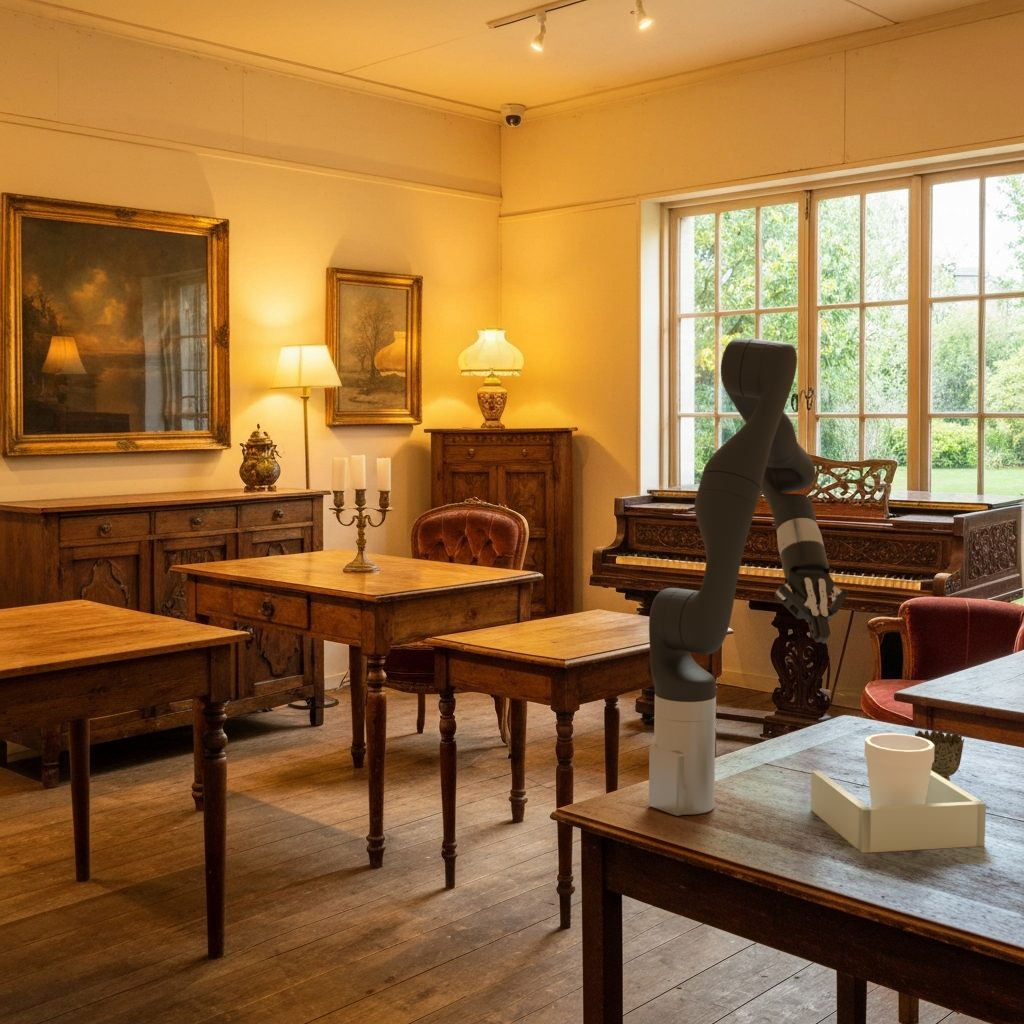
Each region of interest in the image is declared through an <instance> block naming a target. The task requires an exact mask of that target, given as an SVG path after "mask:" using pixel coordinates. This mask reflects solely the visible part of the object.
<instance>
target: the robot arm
mask: <svg viewBox="0 0 1024 1024" xmlns="http://www.w3.org/2000/svg"><path fill="white" fill-rule="evenodd" d="M797 365H798V356H797V350H796V349H795V347H794V346H793V345H792V344H791V343H788V342H784V341H777V340H768V339H758V338H749V337H748V338H747V337H746V338H745V337H744V338H742V337H741V338H740V337H739V338H734V339H732V340H730V341H729V343H728V344H727V345H726V347H725V349H724V351H723V354H722V357H721V362H720V376H721V382H722V385H723V388H724V390H725V392H726V394H727V395H728V398H729V399H730V401H731V402H732V403H733V405H734V406H735V408H736V410H737V412H738V413H739V414H740V416H741V417H742V419H743V420H744V422H745V424H744V425H743V426H742V427H741V428H740V429H739V430H738V431H736V433H734V435H732V436H731V437H730V438H729V439H728V440H727V441H725V443H724V444H723V445H722V446H720V447H719V448H718V449H716V451H715V452H714V454H712V455H711V457H710V458H709V459H708V461H707V462H706V463H705V466H704V468H703V471H702V475H701V478H700V482H699V485H698V489H697V491H696V496H695V499H694V500H695V501H694V512H695V518H696V522H697V526H698V530H699V532H700V535H701V538H702V542H703V546H704V549H705V559H706V560H705V568H704V569H705V570H704V575H703V580H702V583H701V586H700V588H699V590H694V589H686V588H678V587H667V588H664V589H661V590H660V591H659V592H658V593H657V594H656V595H655V598H654V599H653V601H652V604H651V607H650V610H649V612H650V613H649V619H648V636H649V639H648V640H649V657H650V658H649V660H650V662H649V663H650V675H651V678H652V682H653V685H654V723H653V725H654V727H653V729H654V731H653V732H654V734H653V736H654V737H653V738H654V739H653V743H651V744H650V745H649V750H648V751H649V752H648V753H649V754H648V758H649V759H648V765H649V766H648V769H649V770H648V806H649V807H651V808H654V809H657V810H660V811H662V812H666V813H667V814H670V815H673V816H677V817H678V816H682V815H683V816H685V815H701V814H706V813H708V812H711V811H712V810H714V808H715V796H716V795H715V790H716V789H715V785H716V784H715V783H716V781H715V780H716V721H717V720H716V719H717V715H716V713H717V708H716V707H717V682H716V681H717V680H716V679H715V676H714V675H713V674H712V673H710V672H708V671H707V670H706V669H704V668H703V667H701V665H699V664H698V663H697V662H696V661H695V659H694V658H693V656H692V655H691V653H695V654H700V655H710V654H711V655H712V654H714V653H715V652H717V651H718V650H719V649H720V648H721V646H722V645H723V643H724V641H725V639H726V637H727V633H728V632H729V631H728V630H729V627H730V622H731V618H732V615H733V614H732V612H733V608H734V601H735V596H736V591H737V584H738V579H739V573H740V568H741V564H742V559H743V554H744V552H745V548H746V543H747V539H748V535H749V533H750V529H751V524H752V522H753V519H754V517H755V516H754V515H755V512H756V509H757V505H758V502H759V498H760V494H762V496H763V497H764V498H765V500H766V502H767V504H768V506H769V508H770V511H771V514H772V517H773V521H774V526H775V530H776V536H777V540H776V541H777V547H778V552H779V556H780V561H781V566H782V571H783V574H784V578H785V580H784V584H781V585H780V586H779V587H778V588H777V590H776V591H775V593H774V597H775V598H776V599H777V600H778V602H779V603H781V604H782V605H783V606H784V607H785V608H786V609H787V610H788V611H789V612H790V613H791V614H792V615H793V616H794V617H795V618H796V619H798V620H801V619H803V620H805V621H806V622H807V624H808V628H809V632H810V637H811V638H812V639H814V642H815V643H825V642H826V641H827V640H828V638H829V637H830V636H831V628H830V625H829V622H830V621H831V620H832V619H833V618H834V616H836V614H837V613H838V612H839V610H840V609H841V607H842V605H843V604H844V602H845V601H846V599H847V598H848V596H849V593H850V592H849V590H848V589H845V588H842V590H841V589H840V588H839V587H837V586H836V585H835V581H834V580H833V579H832V577H831V575H830V566H829V561H828V558H827V554H826V550H825V545H824V541H823V536H822V533H821V531H820V528H819V525H818V521H817V518H816V512H815V509H814V505H813V502H812V500H811V499H810V497H808V496H807V495H805V494H802V493H792V492H798V491H803V490H805V489H808V488H809V487H810V486H812V484H813V483H814V481H815V480H816V467H815V465H814V463H813V462H814V461H813V460H812V458H811V457H810V455H809V454H808V452H807V451H806V450H805V449H804V448H803V447H802V446H801V445H800V444H799V442H798V440H797V439H798V438H797V436H796V435H797V434H796V431H795V428H794V425H793V422H792V421H791V419H790V417H789V416H788V414H787V413H786V412H785V411H784V410H785V408H786V404H787V403H788V399H789V397H790V393H791V390H792V387H793V384H794V381H795V377H796V372H797ZM830 594H831V601H832V603H831V605H830V607H829V608H828V599H829V596H830Z"/></svg>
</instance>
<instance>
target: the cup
mask: <svg viewBox="0 0 1024 1024" xmlns="http://www.w3.org/2000/svg"><path fill="white" fill-rule="evenodd" d="M914 736H917V737H921V738H924V739H927V740H929V741H931V742H932V743H933V744H934V745H935V748H934V762H933V763H932V768H931V770H932V771H933V772H935V773H937V774H938V775H940V776H941V777H943V778H945V779H946V780H948V781H950V782H951V776H953V775H955V773H957V772H958V770H959V767H960V765H961V760H962V755H963V748H964V743H965V742H964V741H965V738H963V737H962V735H959V733H958V732H955V733H952V734H951V732H950V731H949V730H948V731H947V732H946V733H944V732H943V731H942V730H938V731H936V730H935V729H933V730H931V731H930V733H929V730H928V729H926V730H925V731H924V733H923V731H922V730H918V731H917V732H914Z"/></svg>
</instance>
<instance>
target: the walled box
mask: <svg viewBox="0 0 1024 1024" xmlns="http://www.w3.org/2000/svg"><path fill="white" fill-rule="evenodd" d="M810 781H811V783H810V784H811V785H810V786H811V789H810V790H811V791H810V810H811V811H812V812H813V814H815V815H816V816H818V817H819V818H820V819H821V820H822V821H823V822H824V823H826V824H827V825H828V826H829V827H831V828H832V829H833V830H834V831H835V832H836V833H838V834H839V835H840V836H841V837H842V838H843V839H844V840H846V841H847V842H848V843H849V844H850V845H852V846H853V847H854V848H855V849H857V851H859V852H860V853H861V854H865V853H882V852H883V853H884V852H897V851H899V852H901V851H916V850H917V851H918V850H935V849H953V848H972V847H974V848H975V847H984V846H985V845H986V843H985V840H986V811H987V810H986V809H987V803H986V802H983V801H982V800H980V799H979V798H977V797H975V796H974V795H972V794H971V793H970V792H967V791H966V790H964V789H963V788H961V787H960V786H958V785H956V784H954V783H953V782H951V780H950V781H948V780H946V779H945V778H943V777H941V776H940V775H938V774H937V773H935V772H933V771H932V770H931V773H930V779H929V785H928V791H927V797H926V803H925V804H914V805H894V806H874V807H871V806H867V805H866V804H864V803H863V802H862V801H861V800H859V799H858V798H856V797H855V796H854V795H852V794H851V793H849V792H848V791H847V790H846V789H845V788H843V787H842V786H841V785H840V784H838V783H836V782H835V781H834V780H832V779H831V778H830V777H829V776H827V775H826V774H825V773H824V772H822V771H821V770H811V780H810Z"/></svg>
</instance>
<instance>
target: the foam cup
mask: <svg viewBox="0 0 1024 1024" xmlns="http://www.w3.org/2000/svg"><path fill="white" fill-rule="evenodd" d="M934 748H935V745H934V744H933V743H932V742H931V741H929V740H927V739H924V738H921V737H917V736H915V735H913V734H911V735H910V734H905V733H893V732H892V733H891V732H890V733H889V732H888V733H875V734H873V735H868V736H867V737H866V738H865V739H864V757H865V759H866V768H867V777H868V788H869V796H870V797H869V798H870V807H874V806H894V805H914V804H925V803H926V797H927V791H928V785H929V779H930V773H931V768H932V763H933V762H934Z"/></svg>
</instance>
